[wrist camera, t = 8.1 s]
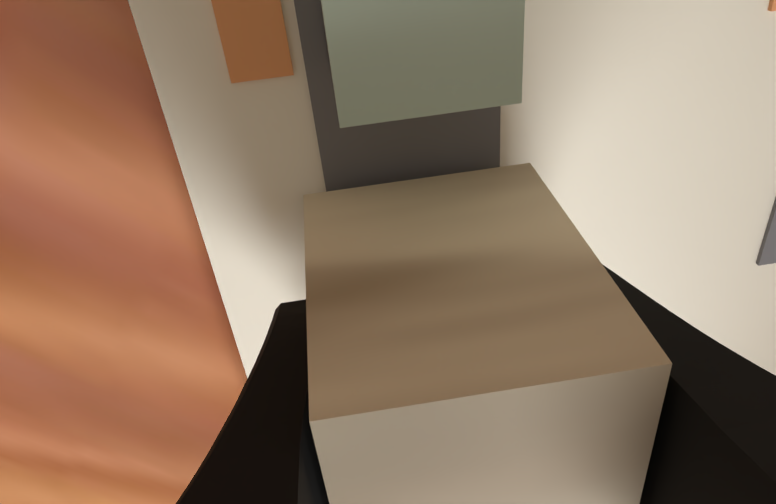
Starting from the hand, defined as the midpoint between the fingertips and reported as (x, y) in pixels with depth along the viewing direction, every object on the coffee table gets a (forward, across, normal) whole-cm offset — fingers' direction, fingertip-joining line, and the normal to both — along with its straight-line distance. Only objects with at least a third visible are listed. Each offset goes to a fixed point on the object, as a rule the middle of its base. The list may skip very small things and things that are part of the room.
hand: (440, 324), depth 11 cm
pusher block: (+2, 0, 0) cm, 2 cm away
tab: (+2, 0, -5) cm, 6 cm away
